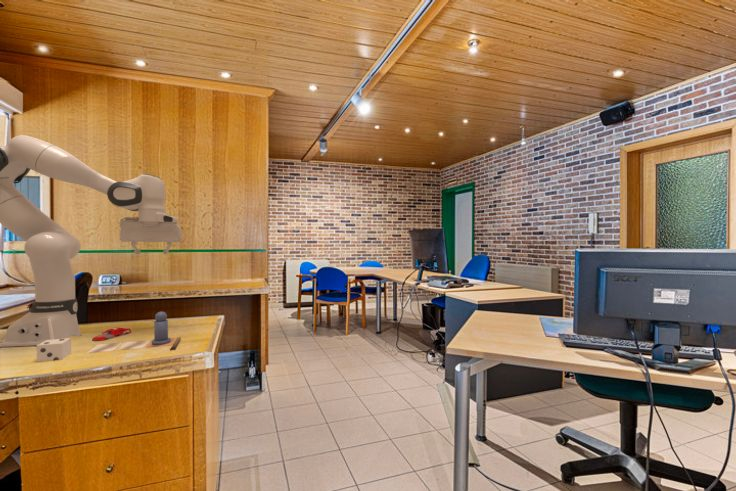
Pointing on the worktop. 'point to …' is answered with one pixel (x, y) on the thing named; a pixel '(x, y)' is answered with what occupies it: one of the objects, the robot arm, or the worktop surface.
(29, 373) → the worktop surface
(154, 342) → the pawn
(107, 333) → the race car
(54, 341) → the die
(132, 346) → the board
